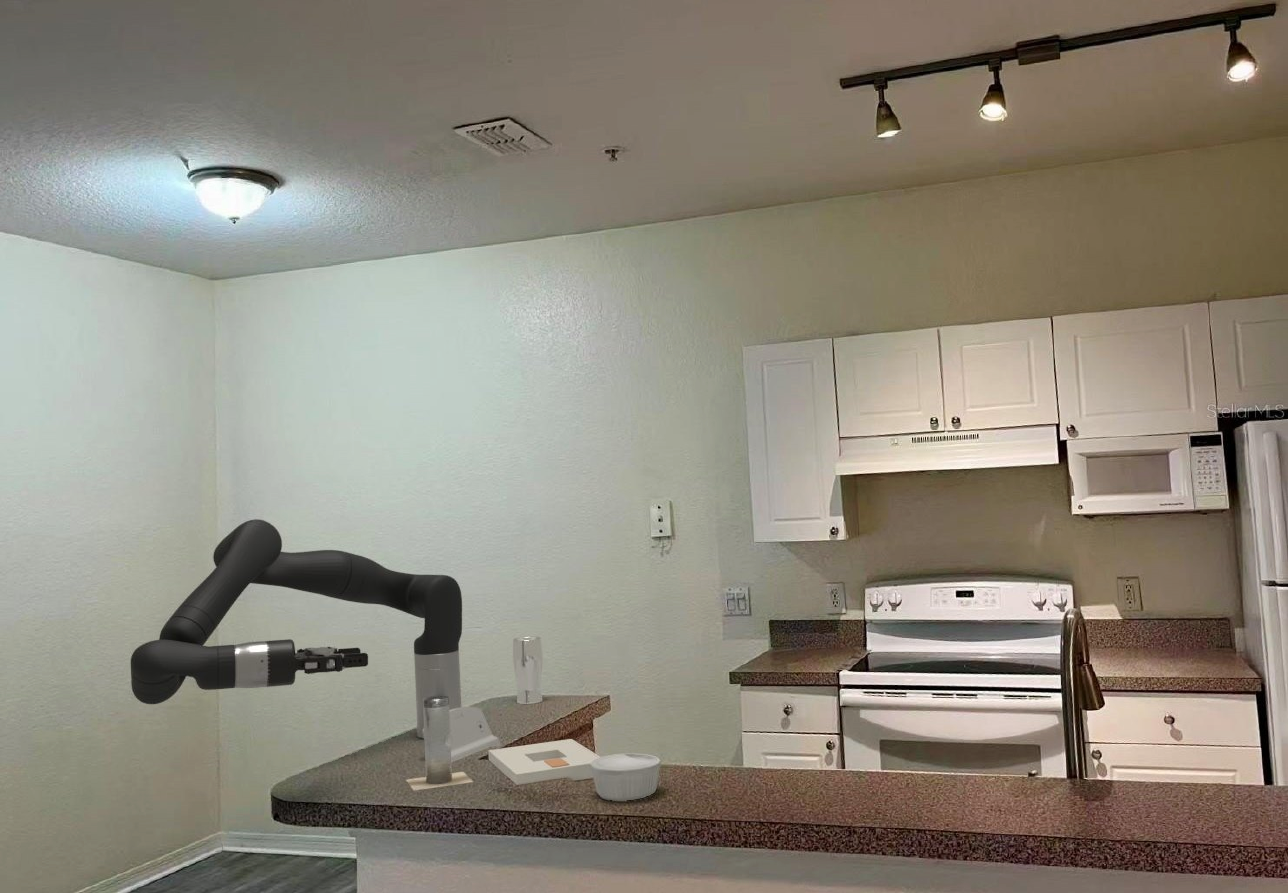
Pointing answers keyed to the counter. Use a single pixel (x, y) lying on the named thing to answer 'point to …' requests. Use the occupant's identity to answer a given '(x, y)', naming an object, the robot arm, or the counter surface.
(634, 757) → the ramekin
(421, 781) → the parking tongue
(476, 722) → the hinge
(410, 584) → the robot arm
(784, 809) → the counter surface
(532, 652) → the beer glass
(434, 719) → the grey capped tube
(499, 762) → the hole plate
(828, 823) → the counter surface
